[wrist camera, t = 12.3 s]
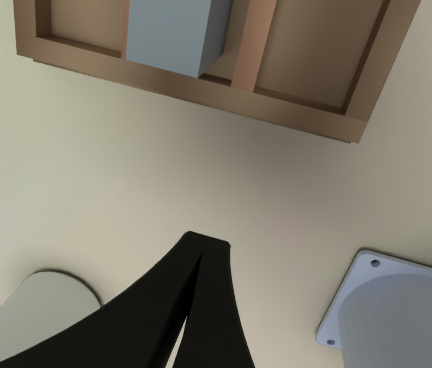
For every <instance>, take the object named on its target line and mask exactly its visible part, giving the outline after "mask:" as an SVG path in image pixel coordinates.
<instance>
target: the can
mask: <svg viewBox="0 0 432 368" xmlns="http://www.w3.org/2000/svg"><path fill="white" fill-rule="evenodd" d="M99 308H101V307H100V304H99V301H98V299H97V297H96V295H95V294H94V293H93V291H92V290H91V289H90V288H89V287H88V286H87V285H85V284H84V283H83V282H82V281H80V280H78V279H77V278H75V277H73V276H71V275H68V274H65V273H61V272H55V271H47V272H39V273H35V274H32V275H31V276H29V277H28V278H27V279H26V280H25V281H24V282H23V283H22V284H21V285H20V286H19V287H18V288H17V289H16V291H15V292H14V293H13V294H12V295H11V296H10V297H9V298H8V299H7V300H6V301H5V302H4V304H3V305H2V306H1V307H0V361H2V360H5V359H7V358H9V357H12V356H14V355H16V354H18V353H20V352H22V351H24V350H26V349H28V348H30V347H32V346H34V345H36V344H38V343H40V342H42V341H44V340H46V339H48V338H50V337H52V336H54V335H55V334H57V333H59V332H61V331H63V330H65V329H67V328H68V327H70V326H72V325H73V324H75V323H77V322H78V321H80V320H82V319H83V318H85V317H87V316H88V315H90V314H91V313H93V312H95V311H96V310H98V309H99Z"/></svg>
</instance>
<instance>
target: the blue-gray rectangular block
mask: <svg viewBox="0 0 432 368" xmlns="http://www.w3.org/2000/svg"><path fill="white" fill-rule="evenodd" d="M233 2H234V0H130V9H129V22H128V35H127V48H126V60H129V61H133V62H136V63H140V64H144V65H148V66H152V67H156V68H160V69H164V70H168V71H171V72H175V73H179V74H183V75H187V76H191V77H195V78H198V77H199V76H200V75H201V74H202V73H203V72H205V71H206V70H207V69H208V68H209V67H210V66H211V65H212V64H213V63H214V62H215V61H216V60H217V59H218V58H219V57H220V56H222V55H223V50H224V45H225V41H226V36H227V31H228V26H229V21H230V16H231V11H232V6H233Z"/></svg>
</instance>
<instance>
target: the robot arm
mask: <svg viewBox="0 0 432 368" xmlns="http://www.w3.org/2000/svg"><path fill="white" fill-rule="evenodd" d="M230 247H231V246H230V244H229V242H227V241H223V240H220V239H216V238H213V237H209V236H206V235H202V234H199V233H195V232H192V231H188V232H186V233H184V235H183V236H182V237H181V239H180V240H179V241H178V242H177V243H176V244H175V246H174V247H173V248H172V249H171V250H170V251H169V252H168V253H167V254H166V255H165V256H164V257H163V258H162V259H161V260H160V261H159V262H157V263H156V264H155V265H154V266H153V267H152V268H151V269H150V270H149V271H148V272H147V273H145V274H144V275H143V276H142V277H141V278H139V279H138V280H137V281H136V282H134V283H133V284H132V285H131V286H130V287H128V288H127V289H126V290H125V291H123V292H122V293H121V294H119V295H118V296H116V297H115V298H114V299H112V300H111V301H109V302H108V303H107V304H105V305H104V306H102V307H101V308H99V309H98V310H96V311H95V312H93V313H91V314H90V315H88V316H87V317H85V318H83V319H82V320H80V321H78V322H77V323H75V324H73V325H72V326H70V327H68V328H67V329H65V330H63V331H61V332H59V333H57V334H55V335H54V336H52V337H50V338H48V339H46V340H44V341H42V342H40V343H38V344H36V345H34V346H32V347H30V348H28V349H26V350H24V351H22V352H20V353H18V354H16V355H14V356H12V357H9V358H7V359H5V360H2V361H0V368H165V367H166V364H167V362H168V360H169V357H170V355H171V352H172V350H173V348H174V345H175V343H176V341H177V338H178V336H179V334H180V331H181V329H182V326H183V324H184V322H185V319H186V317H187V319H186V324H185V329H184V333H183V337H182V340H181V343H180V346H179V349H178V352H177V355H176V358H175V361H174V364H173V367H172V368H255V366H254V363H253V360H252V357H251V354H250V351H249V348H248V345H247V342H246V339H245V336H244V332H243V329H242V325H241V321H240V318H239V314H238V309H237V305H236V300H235V295H234V289H233V283H232V276H231V267H230ZM373 260H378V261H377V262H375V263H372V262H371V261H373ZM315 338H316V341H317V342H318V343H319V344H321V345H325V346H328V347H332V348H335V349H338V350H342V353H343V360H344V368H432V268H430V267H427V266H423V265H419V264H416V263H412V262H409V261H405V260H401V259H398V258H394V257H391V256H387V255H383V254H380V253H376V252H373V251H369V250H363V251H360V252H359V253H358V254H357V255H356V257H355V259H354V261H353V263H352V265H351V267H350V269H349V271H348V273H347V274H346V276H345V278H344V280H343V282H342V284H341V286H340V288H339V290H338V292H337V294H336V296H335V298H334V299H333V301H332V303H331V305H330V307H329V309H328V311H327V313H326V315H325V317H324V319H323V321H322V322H321V324H320V326H319V328H318V330H317V332H316V335H315ZM330 339H331V340H330Z"/></svg>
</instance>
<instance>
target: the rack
mask: <svg viewBox="0 0 432 368" xmlns="http://www.w3.org/2000/svg"><path fill="white" fill-rule="evenodd" d="M420 1H421V0H234V2H233V6H232V11H231V16H230V21H229V26H228V31H227V36H226V41H225V45H224V50H223V55H222V56H220V57H219V58H218V59H217V60H216V61H215V62H214V63H213V64H212V65H211V66H210V67H209V68H208V69H207V70H206V71H205V72H203V73H202V74H201V75H200V76H199V77H198V78H195V77H191V76H187V75H183V74H179V73H175V72H171V71H168V70H164V69H160V68H156V67H152V66H148V65H144V64H140V63H136V62H133V61H129V60H126V48H127V35H128V22H129V9H130V0H13V4H14V19H15V34H16V48H17V55H21V56H24V57H28V58H32V59H33V61H35V62H39V63H43V64H47V65H50V66H54V67H58V68H62V69H66V70H70V71H74V72H77V73H81V74H85V75H89V76H93V77H97V78H100V79H104V80H108V81H112V82H116V83H120V84H123V85H127V86H131V87H135V88H139V89H143V90H146V91H150V92H154V93H158V94H162V95H166V96H169V97H173V98H177V99H181V100H185V101H189V102H192V103H196V104H200V105H204V106H208V107H212V108H215V109H219V110H223V111H227V112H231V113H235V114H239V115H242V116H246V117H250V118H254V119H258V120H262V121H265V122H269V123H273V124H277V125H281V126H285V127H288V128H292V129H296V130H300V131H304V132H308V133H311V134H315V135H319V136H323V137H327V138H331V139H334V140H338V141H342V142H346V143H351V142H355V143H359V141H360V139H361V136H362V134H363V132H364V130H365V127H366V125H367V123H368V120H369V118H370V116H371V114H372V111H373V109H374V107H375V104H376V102H377V100H378V98H379V95H380V93H381V91H382V88H383V86H384V84H385V81H386V79H387V77H388V75H389V72H390V70H391V68H392V65H393V63H394V61H395V59H396V56H397V54H398V52H399V49H400V47H401V45H402V42H403V40H404V38H405V36H406V33H407V31H408V29H409V26H410V24H411V22H412V20H413V17H414V15H415V13H416V10H417V8H418V6H419V4H420Z"/></svg>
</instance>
